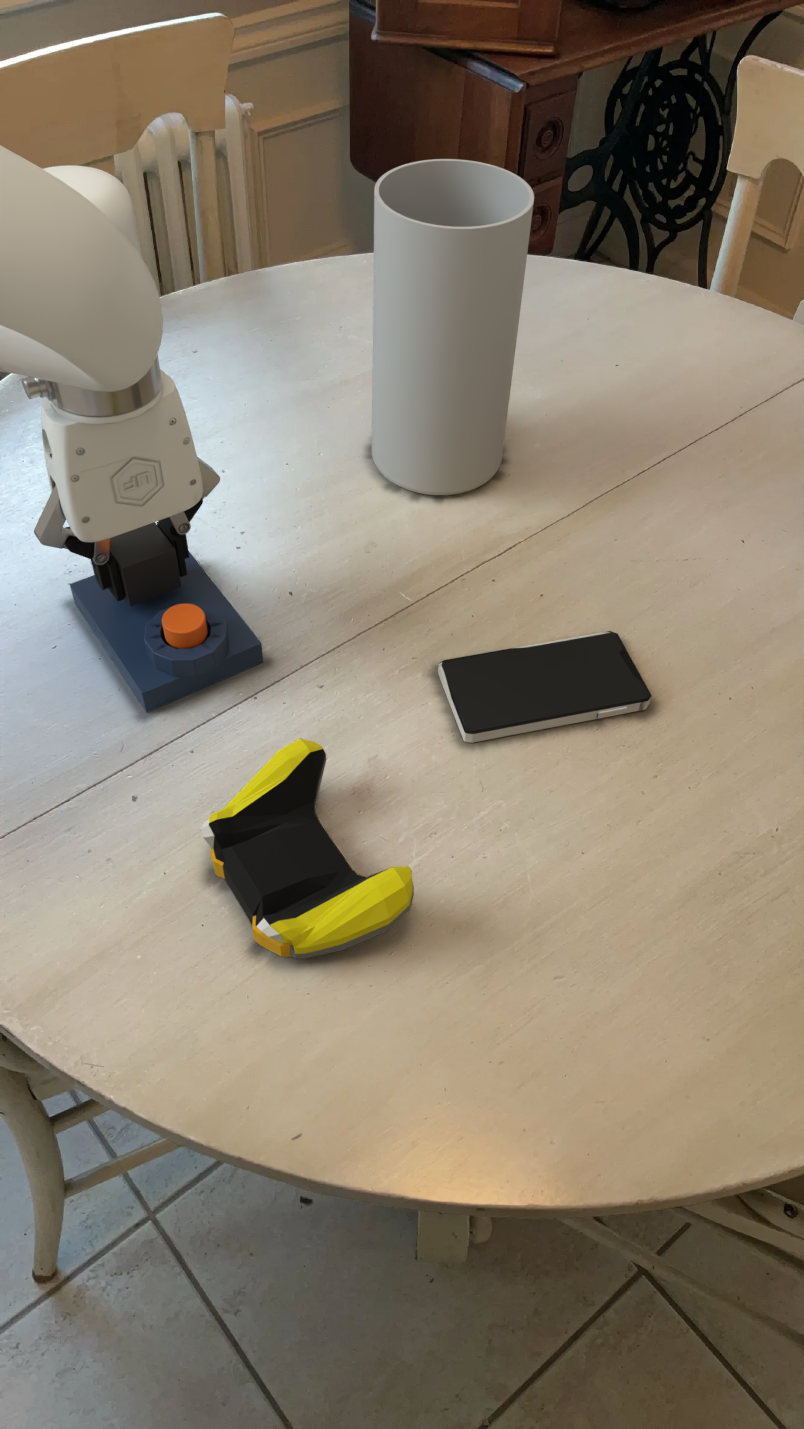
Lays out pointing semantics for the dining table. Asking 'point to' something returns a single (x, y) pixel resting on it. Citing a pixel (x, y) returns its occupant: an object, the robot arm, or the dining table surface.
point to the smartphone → (542, 686)
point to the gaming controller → (298, 863)
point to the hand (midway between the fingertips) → (144, 576)
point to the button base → (145, 650)
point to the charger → (145, 563)
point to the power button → (184, 626)
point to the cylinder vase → (445, 320)
